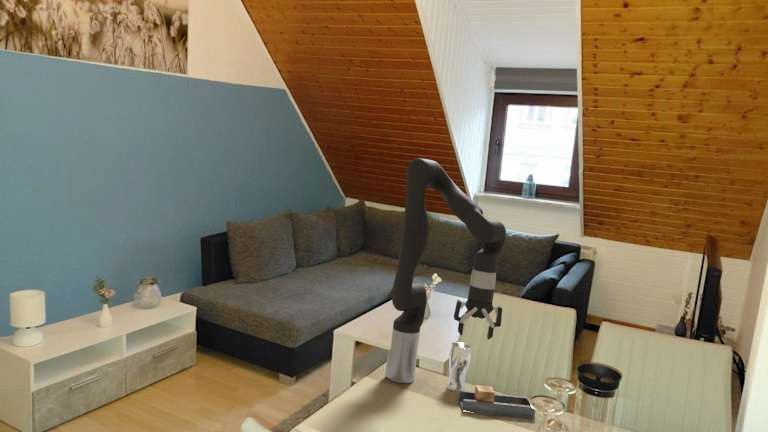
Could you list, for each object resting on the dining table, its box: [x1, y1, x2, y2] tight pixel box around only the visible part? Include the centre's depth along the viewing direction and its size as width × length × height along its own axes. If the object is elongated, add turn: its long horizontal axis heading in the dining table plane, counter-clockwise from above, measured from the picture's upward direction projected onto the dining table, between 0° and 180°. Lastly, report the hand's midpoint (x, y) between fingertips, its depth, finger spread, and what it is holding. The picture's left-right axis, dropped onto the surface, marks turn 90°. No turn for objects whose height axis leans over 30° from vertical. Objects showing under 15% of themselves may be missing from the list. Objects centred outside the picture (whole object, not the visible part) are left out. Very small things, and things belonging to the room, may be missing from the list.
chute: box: [457, 390, 536, 420], centre depth 169 cm, size 22×9×4 cm, turn 91°
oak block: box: [474, 384, 496, 402], centre depth 169 cm, size 5×5×5 cm
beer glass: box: [446, 341, 472, 393], centre depth 183 cm, size 7×7×15 cm
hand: (474, 336), depth 167 cm, fingers open, 8 cm apart
